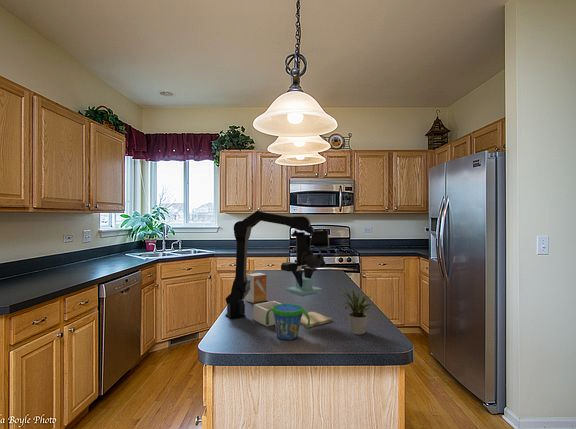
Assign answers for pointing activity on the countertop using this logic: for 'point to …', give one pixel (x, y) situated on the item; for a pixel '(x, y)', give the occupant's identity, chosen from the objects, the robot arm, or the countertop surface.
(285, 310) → the snack cup
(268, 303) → the storage box
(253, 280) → the small box
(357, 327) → the house plant
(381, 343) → the countertop surface
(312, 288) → the lid
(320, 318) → the wooden board
